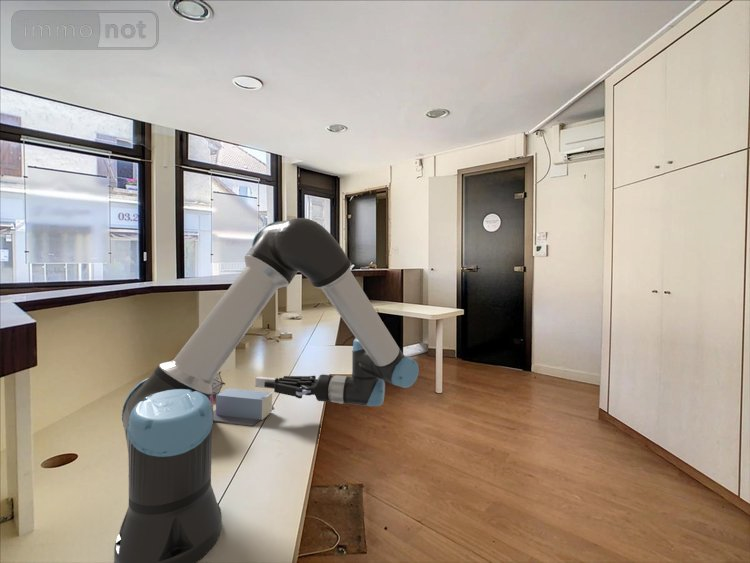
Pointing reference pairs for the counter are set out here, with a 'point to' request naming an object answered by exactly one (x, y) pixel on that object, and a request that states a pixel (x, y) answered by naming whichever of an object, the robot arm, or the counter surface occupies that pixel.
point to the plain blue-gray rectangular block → (244, 403)
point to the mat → (234, 420)
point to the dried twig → (217, 384)
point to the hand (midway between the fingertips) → (256, 381)
